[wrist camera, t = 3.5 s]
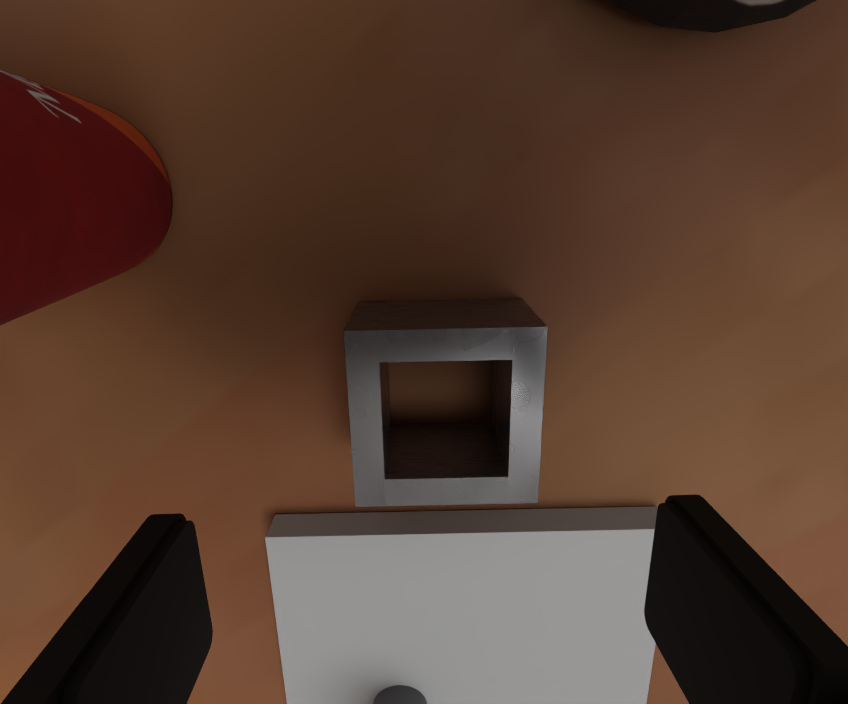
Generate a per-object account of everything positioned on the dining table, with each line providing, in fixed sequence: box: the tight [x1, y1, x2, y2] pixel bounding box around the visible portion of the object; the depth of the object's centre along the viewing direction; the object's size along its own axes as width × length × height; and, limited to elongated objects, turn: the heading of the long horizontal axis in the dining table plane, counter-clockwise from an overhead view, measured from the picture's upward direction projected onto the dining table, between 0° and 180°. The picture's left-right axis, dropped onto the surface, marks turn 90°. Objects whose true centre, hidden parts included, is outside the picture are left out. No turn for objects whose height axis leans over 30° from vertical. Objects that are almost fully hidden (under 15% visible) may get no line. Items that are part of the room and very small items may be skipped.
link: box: [344, 299, 548, 507], centre depth 18 cm, size 6×6×4 cm
